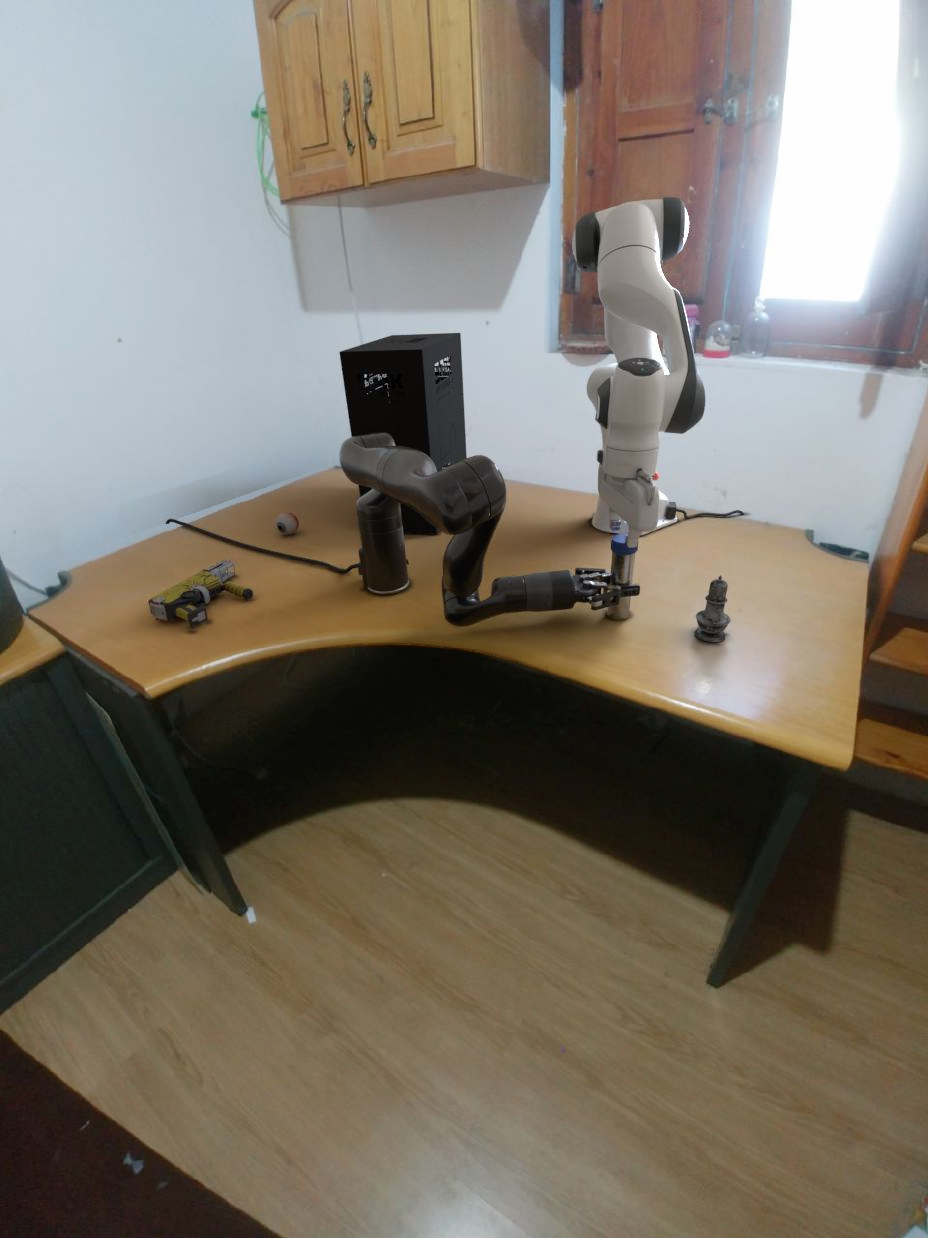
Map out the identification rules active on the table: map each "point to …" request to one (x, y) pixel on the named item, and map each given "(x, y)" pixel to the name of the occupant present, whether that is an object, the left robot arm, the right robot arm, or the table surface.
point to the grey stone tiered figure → (713, 613)
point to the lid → (621, 545)
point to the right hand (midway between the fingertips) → (622, 537)
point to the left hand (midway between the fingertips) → (634, 583)
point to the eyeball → (287, 523)
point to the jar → (621, 583)
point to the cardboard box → (409, 400)
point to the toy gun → (196, 595)
